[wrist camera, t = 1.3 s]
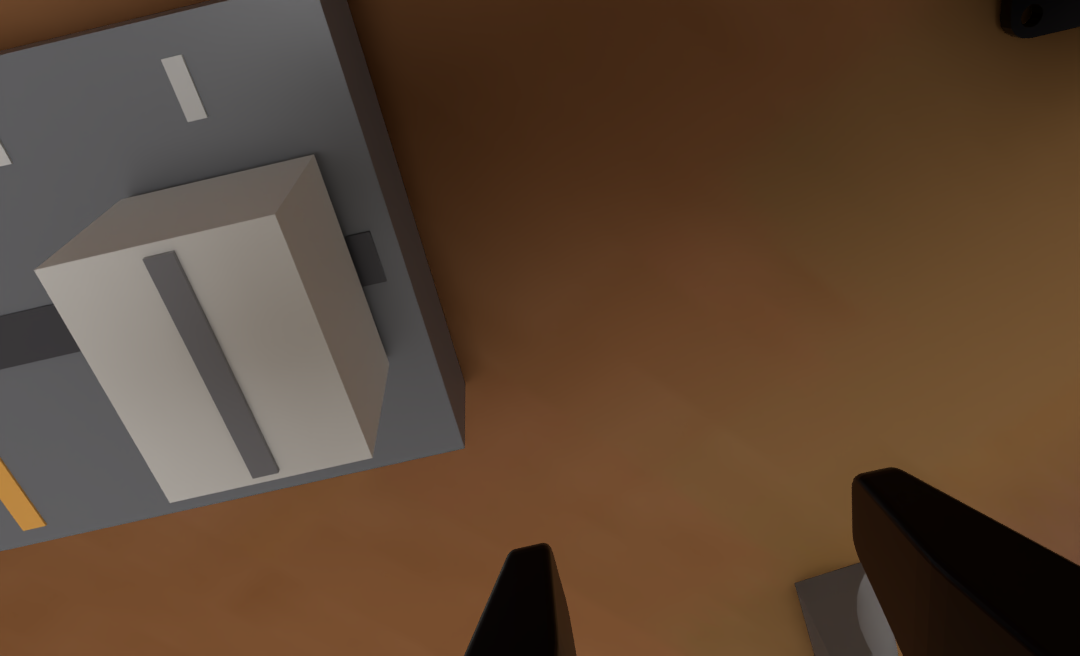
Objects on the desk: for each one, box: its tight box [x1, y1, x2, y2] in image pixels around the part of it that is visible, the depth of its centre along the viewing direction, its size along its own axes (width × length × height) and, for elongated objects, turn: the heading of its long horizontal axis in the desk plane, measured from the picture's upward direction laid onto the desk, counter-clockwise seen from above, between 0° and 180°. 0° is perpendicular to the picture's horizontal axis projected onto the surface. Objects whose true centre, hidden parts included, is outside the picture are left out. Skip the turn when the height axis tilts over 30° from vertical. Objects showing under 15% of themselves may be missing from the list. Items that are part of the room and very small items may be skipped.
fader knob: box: [34, 154, 389, 503], centre depth 15 cm, size 4×5×4 cm
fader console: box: [0, 0, 465, 551], centre depth 18 cm, size 18×11×3 cm, turn 102°
